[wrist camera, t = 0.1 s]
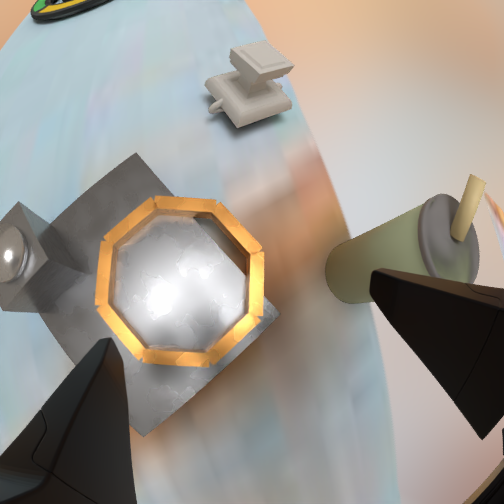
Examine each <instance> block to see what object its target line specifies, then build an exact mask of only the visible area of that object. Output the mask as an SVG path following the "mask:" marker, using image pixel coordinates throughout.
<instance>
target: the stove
mask: <svg viewBox="0 0 504 504" xmlns="http://www.w3.org/2000/svg"><path fill="white" fill-rule="evenodd" d="M193 217H194V218H208V219H211V220H212V221H213V222H214V223H215V224H216V225H217V226H218V227H219V228H220V229H221V231H222V232H223V233H224V234H225V235H226V236H227V237H228V238H229V239H230V240H231V242H232V243H233V244H234V245H235V246H236V247H237V248H238V249H239V250H240V251H241V253H242V254H243V255H244V256H245V257H246V258H247V264H246V276H245V275H244V274H243V273H242V271H241V270H240V269H239V268H238V267H237V266H236V265H235V264H234V263H233V262H232V261H231V259H230V258H229V257H228V256H227V255H226V254H225V253H224V252H223V251H222V249H221V248H220V247H219V246H218V245H217V244H216V243H215V242H214V241H213V239H212V238H211V237H210V236H209V235H208V234H207V233H206V232H205V231H204V229H203V228H202V227H201V226H200V225H199V224H198V223H197V222H196V220H195V219H194V218H193ZM261 249H262V247H261V246H260V244H259V243H258V242H257V241H256V240H255V239H254V238H253V237H252V236H251V235H250V234H249V232H248V231H247V230H246V229H245V228H244V227H243V226H242V225H241V224H240V223H239V222H238V220H237V219H236V218H235V217H234V216H233V215H232V214H231V213H230V212H229V211H228V210H227V209H226V207H225V206H224V205H223V204H222V203H221V202H220V203H218V204H217V205H216V200H212V199H199V198H186V197H174V196H173V194H172V193H171V192H170V191H169V190H168V189H167V188H166V186H165V185H164V184H163V183H162V182H161V181H160V180H159V178H158V177H157V176H156V175H155V174H154V173H153V171H152V170H151V169H150V168H149V167H148V166H147V164H146V163H145V162H144V161H143V160H142V159H141V158H140V156H139V155H138V154H137V153H135V154H133V155H132V156H130V157H129V158H128V159H126V160H125V161H124V162H122V163H121V164H120V165H118V166H117V167H116V168H114V169H113V170H112V171H110V172H109V173H108V174H107V175H105V176H104V177H103V178H102V179H100V180H99V181H98V182H97V183H95V184H94V185H93V186H92V187H91V188H89V189H88V190H87V191H86V192H85V193H84V194H82V195H81V196H80V197H79V198H78V199H77V200H76V201H74V202H73V203H72V204H71V205H70V206H69V207H68V208H67V209H66V210H65V211H63V212H62V213H61V214H60V215H59V216H58V217H57V218H56V219H55V220H54V221H53V222H52V223H51V224H49V223H48V222H46V221H45V220H43V219H42V218H41V217H39V216H38V215H36V214H35V213H34V212H32V211H31V210H30V209H28V208H27V207H26V206H24V205H23V204H22V203H20V202H19V201H18V202H17V203H16V205H15V206H14V207H13V208H12V209H11V210H10V211H9V212H8V213H7V214H6V215H5V217H4V218H3V219H2V220H1V221H0V306H1V308H2V310H3V311H11V312H32V313H39V314H40V316H41V318H42V319H43V321H44V322H45V324H46V325H47V327H48V328H49V330H50V331H51V333H52V334H53V336H54V337H55V339H56V340H57V341H58V343H59V344H60V346H61V347H62V348H63V350H64V351H65V352H66V354H67V355H68V356H69V358H70V359H71V360H72V362H73V363H74V364H75V365H77V364H78V363H79V362H80V361H81V359H82V358H83V357H84V356H85V355H86V354H87V353H88V351H89V350H90V349H91V348H92V347H93V346H94V345H95V344H96V342H97V341H98V340H99V339H102V338H108V337H111V338H112V339H113V340H114V342H115V344H116V346H117V348H118V350H119V352H120V354H121V356H122V359H123V363H124V373H125V382H126V390H127V398H128V408H129V424H130V425H131V426H132V427H133V428H134V429H135V430H136V431H137V432H138V433H139V434H140V435H141V436H143V437H144V436H146V435H147V434H148V433H149V432H151V431H152V430H153V429H154V428H156V427H157V426H158V425H159V424H161V423H162V422H163V421H164V420H166V419H167V418H168V417H169V416H170V415H172V414H173V413H174V412H175V411H176V410H178V409H179V408H180V407H181V406H182V405H183V404H185V403H186V402H187V401H188V400H189V399H190V398H192V397H193V396H194V395H195V394H196V393H197V392H198V391H200V390H201V389H202V388H203V387H204V386H205V385H206V384H207V383H209V382H210V381H211V380H212V379H213V378H214V377H215V376H216V375H217V374H219V373H220V372H221V371H222V370H223V369H224V368H225V367H226V366H227V365H228V364H229V363H231V362H232V361H233V360H234V359H235V358H236V357H237V356H238V355H239V354H240V353H241V352H242V351H243V350H244V349H245V348H246V347H248V346H249V345H250V344H251V343H252V342H253V341H254V340H255V339H256V338H257V337H258V336H259V335H260V334H261V333H262V332H263V331H264V330H265V329H266V328H267V327H268V326H269V325H270V324H271V323H272V322H273V321H274V320H275V319H276V318H277V317H278V316H279V315H280V313H279V312H278V310H277V309H276V308H275V307H274V306H273V305H272V304H271V303H270V302H269V301H268V300H267V299H266V298H265V296H264V295H263V293H264V252H259V251H260V250H261Z"/></svg>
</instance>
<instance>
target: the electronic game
mask: <svg viewBox="0 0 504 504" xmlns="http://www.w3.org/2000/svg"><path fill="white" fill-rule="evenodd" d="M55 1H56V0H37V2H36V3H35V4H34V5H33V7H32V9H31V16H32V18H34V19H47V20H51V19H58V18H63V17H67V16H70V15H73V14H76V13H79V12H82V11H85V10H87V9H90V8H92V7H95V6H97V5H99V4H102V3H104V2H105V1H108V0H62V1H63V3H59V4H53V3H54V2H55Z"/></svg>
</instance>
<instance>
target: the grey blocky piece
mask: <svg viewBox="0 0 504 504" xmlns="http://www.w3.org/2000/svg"><path fill="white" fill-rule="evenodd" d="M229 58H230V59H231V60H230V62H231V64H232V65H233V66H234V67H235V68H236V69H237V70H236V71H232V72H229V73H225V74H221V75H218V76H214V77H211V78H209V79H208V80H207V81H206V82H205V87H206V88H207V89H208V91H209V92H210V93H211V94H212V96H213V97H214V98H215V99H216V102H214V103H213V104H212V105H211V106H210V107H209V113H211V114H214V113H219V112H224V111H225V113H226V114H227V115H228V116H229V118H230V119H231V120H232V122H233V123H234V124H235V126H236V127H237V128H240V127H242V126H245V125H248V124H250V123H253V122H256V121H259V120H261V119H264V118H267V117H270V116H273V115H275V114H278V113H281V112H284V111H287V110H290V109H291V108H292V102H291V100H290V99H289V98H288V97H287V95H286V94H285V93H284V92H283V91H282V90H281V89H282V85H281V84H280V83H275V82H274V81H273V80H272V79H276V78H280V77H283V75H285V74H288V73H289V72H290V71H291V69H292V68H293V67H294V65H293V64H292V63H291V62H290V61H289V60H288V59H287V58H286V57H284V56H283V55H282V54H281V53H280V52H279V51H278V50H276V49H275V48H274V47H273V46H272V45H271V44H269V43H268V42H267V41H266V40H265V41H260V42H255V43H251V44H247V45H243V46H239V47H235V48H231V51H230V56H229Z"/></svg>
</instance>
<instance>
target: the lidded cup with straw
mask: <svg viewBox="0 0 504 504" xmlns="http://www.w3.org/2000/svg"><path fill="white" fill-rule="evenodd" d="M485 185H486V182H484V181H483V180H481V179H480V178H478V177H476V176H474V175H472V174H470V176H469V179H468V182H467V185H466V188H465V191H464V194H463V196H462V199H461V202H460V203H459V202H458V201H457V200H456V199H454V198H453V197H451V196H449V195H447V194H438V195H436V196H434V197H432V198H430V199H428V200H427V201H426V202H425V203H424V204H422V205H420V206H418V207H416V208H414V209H412V210H410V211H408V212H406V213H404V214H402V215H400V216H398V217H396V218H394V219H392V220H390V221H388V222H386V223H384V224H382V225H380V226H378V227H376V228H374V229H372V230H370V231H368V232H366V233H364V234H362V235H359V236H357V237H355V238H353V239H351V240H349V241H347V242H345V243H343V244H341V245H339V246H337V247H336V248H335V249H334V250H333V251H332V252H331V253H330V255H329V257H328V259H327V262H326V269H325V273H326V280H327V283H328V286H329V288H330V290H331V291H332V293H333V294H334V295H335V296H336V297H337V298H338V299H339V300H341V301H343V302H345V303H350V304H355V303H366V302H374V300H373V299H372V298H371V296H370V293H369V286H370V277H371V273H372V271H373V270H376V269H379V268H386V269H392V270H398V271H403V272H409V273H414V274H420V275H426V276H431V277H437V278H442V279H448V280H453V281H459V282H463V283H470V284H473V283H474V281H475V279H476V276H477V273H478V268H479V244H478V239H477V235H476V231H475V228H474V226H473V223H472V220H473V218H474V215H475V213H476V210H477V208H478V205H479V202H480V199H481V197H482V194H483V191H484V188H485Z"/></svg>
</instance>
